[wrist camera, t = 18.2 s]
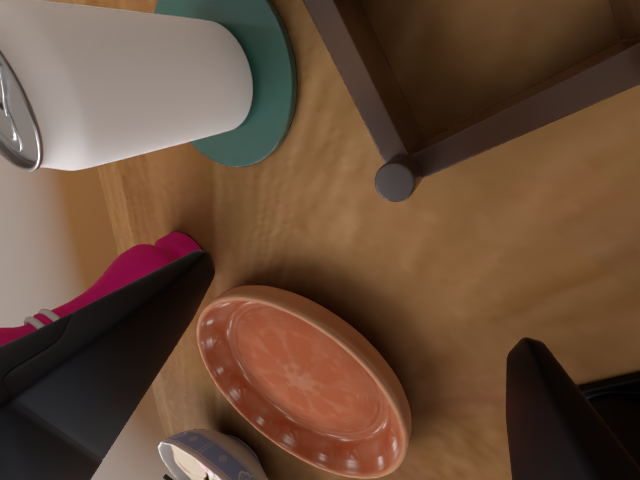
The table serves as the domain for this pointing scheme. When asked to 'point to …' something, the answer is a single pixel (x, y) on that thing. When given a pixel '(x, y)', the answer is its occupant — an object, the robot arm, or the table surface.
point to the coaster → (267, 73)
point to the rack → (478, 131)
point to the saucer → (306, 380)
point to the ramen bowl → (209, 457)
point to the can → (112, 83)
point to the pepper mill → (112, 279)
